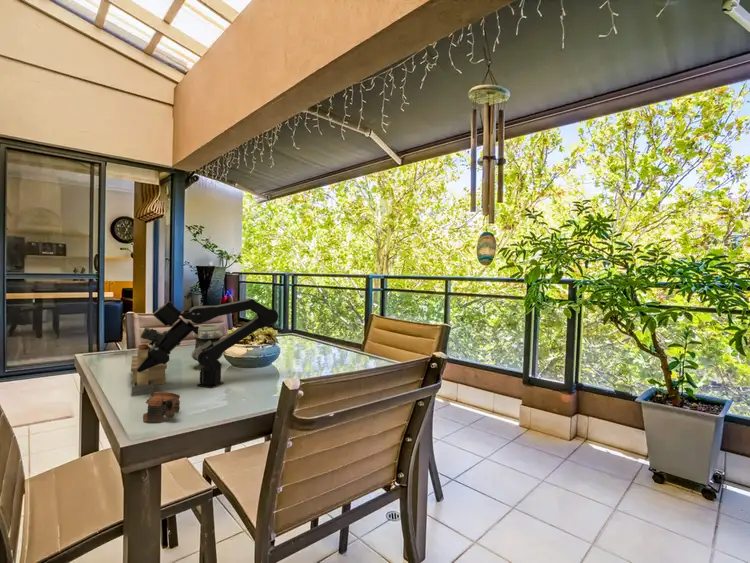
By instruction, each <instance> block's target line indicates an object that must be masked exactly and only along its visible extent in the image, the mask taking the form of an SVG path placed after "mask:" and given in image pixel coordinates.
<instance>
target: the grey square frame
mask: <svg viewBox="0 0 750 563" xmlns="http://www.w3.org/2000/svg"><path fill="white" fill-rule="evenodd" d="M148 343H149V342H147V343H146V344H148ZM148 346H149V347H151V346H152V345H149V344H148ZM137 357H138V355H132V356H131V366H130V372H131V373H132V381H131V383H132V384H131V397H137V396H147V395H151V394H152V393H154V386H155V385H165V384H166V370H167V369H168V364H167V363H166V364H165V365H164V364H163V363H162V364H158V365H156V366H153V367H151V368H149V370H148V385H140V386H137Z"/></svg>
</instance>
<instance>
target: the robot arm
mask: <svg viewBox="0 0 750 563" xmlns="http://www.w3.org/2000/svg"><path fill="white" fill-rule="evenodd" d="M248 310H249V311H251V312H252V313H255V315H254V317H253V318H252V319H251V320H249V321H248V322H246V323H245V324H243V325H242V326H240V327H239V328H237V329H235V330H233V331H232V332H231V333H229V334H228V335H226V336H224V337H222V338H220V340H219V341H218V342H215V343H212V342H211V341H210V340H209V341H208V342H207V343H206V344H204V345H202V346H200V348H199V349H198V350H197V352H196V358H197V360H198V361H197V362H198V364H201V365H202V366H204V367H202V368H201V370H199V383H197V385H196V386H197V387H202V388H210V389H213V388H216V387H218V386H220V385H222V384H224V381H222V363H221V362H220V358H221V357H222V356H223V353H225V351H227V350H228V349H230V348H231V347H233V346H234V345H236V344H238V343H239V342H241V341H242V340H245V339H246V338H247V337H249V336H250V335H251V334H253V333H255V332H256V331H258V330H261V329H263V328H266V327H269V326H271V325H274V324H275V323H277V322H278V319H279V313H278V312H277V311H276V310H275V309H272V308H270V307H266V306H264V305H262V303H261V304H260V303H259V302H258V301H257V300H255V299H253V298H245V299H242V300H236V301H232V302H226V303H222V304H216V305H195V306H193V307H191V308H190V309H186V310H181V311H180V310H179V309H178V308H177V307H176V306H174V304H173V303H172V302H171V301H167V302H166V303H164V304H163V305H162V306H160V307H158V308H157V309H156V310H155V311H154V312H153V313H152V317H154V318H155V319H157V320H158V321H159V322H160V323H161V324H162V325H163V326H164V327H167V326H170V328H169V329H168V330H165V331H163V332H160V331H157V329H154V328H149V327H146V326H145V327H144V329H143V331H142V333H141V334H140V338H141V339H143V340H148V341H149V342H147V343H148V344H149V345H151V347H149V346H148V348H149V350H148V356H147V358H146V359H145V360H144V362H143V363H142V364H141V365H140V367H139V368H138V369H137V371H138V372H141V371H144V370H146V369H148V368H151V367H153V366H156V365H158V364H162V363H163V364H164V365H165V364H167V363H168V362H170V354H171V352H172V351H173V350H174V349H175V348H176V347H179V346H180V345H181V342H182V341H183V340H185V339H186V338H187V337H188V336H189V335H190V334H191V333H195V334H198V328H199V327H198V325H202V324H203V323H204V324H205V323H206V322H209V321H211V320H213V319H215V318H218V317H221V316H226V315H229V314H230V315H231V314H234V313H239V312H244V311H248ZM181 317H182V318H183V319H182V318H181ZM185 320H187V321H185ZM190 321H191V322H190ZM193 323H194V324H197V325H194V324H193ZM221 355H222V356H221ZM220 356H221V357H220ZM219 357H220V358H219ZM218 358H219V359H218Z"/></svg>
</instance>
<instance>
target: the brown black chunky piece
mask: <svg viewBox="0 0 750 563" xmlns="http://www.w3.org/2000/svg"><path fill="white" fill-rule="evenodd" d="M150 395H151V396H150V397H149V398H148V399H147V400H146V402H145V404H146V405H147V412H146V413H143V414H142V419H143V420H142V422H143V421H144V422H143V423H145V422H151V423H161V422H162V423H163V421H164V418H165V417H166V418H167V419H171V418H173V417H174V416H175V414H176V413H178V412H179V411H180V409H181V408H180V406H181V405H180V404H181V401H180V399H181V396H180V395H179V394H178V393H174V392H170V391H169V392H168V391H157V392H156V391H155V392H153V393H152V394H150Z"/></svg>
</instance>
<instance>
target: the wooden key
mask: <svg viewBox="0 0 750 563" xmlns="http://www.w3.org/2000/svg"><path fill="white" fill-rule="evenodd" d="M148 350H149V348H148V344H147V343H142V344H141V343H140V344H138V348H137V356H138V357H137V369H138V368H139V367H140V365H141V364H142V363H143V362H144V360H145V359H146V358H147V356H148ZM148 370H149V368H148V369H146V370H144V371H141V372H138V371H137V386H140V385H148Z"/></svg>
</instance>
